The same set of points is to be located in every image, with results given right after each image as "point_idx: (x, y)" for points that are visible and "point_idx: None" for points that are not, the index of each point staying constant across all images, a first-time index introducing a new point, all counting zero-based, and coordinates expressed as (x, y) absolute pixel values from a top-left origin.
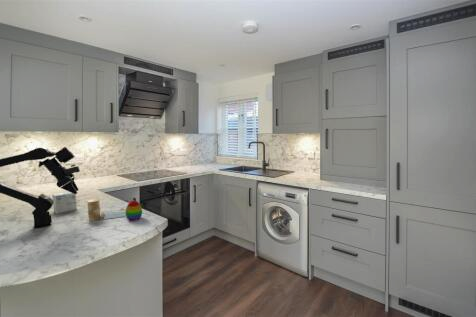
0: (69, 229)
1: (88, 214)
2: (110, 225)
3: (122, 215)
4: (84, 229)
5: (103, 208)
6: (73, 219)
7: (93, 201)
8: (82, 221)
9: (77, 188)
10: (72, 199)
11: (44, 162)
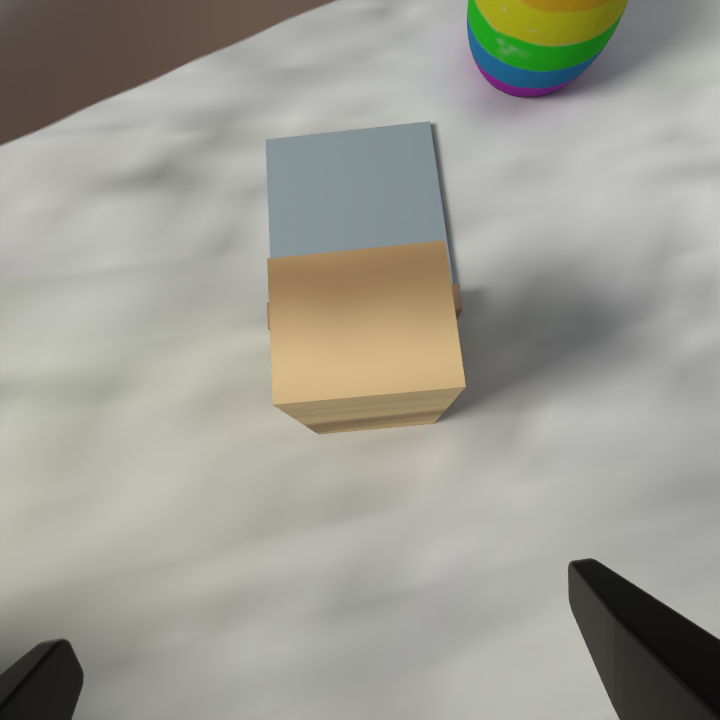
0: (671, 552)
1: (441, 413)
2: (652, 212)
3: (397, 150)
4: (709, 407)
5: (13, 359)
6: (315, 598)
7: (443, 305)
8: (433, 482)
9: (29, 688)
10: None
11: None
